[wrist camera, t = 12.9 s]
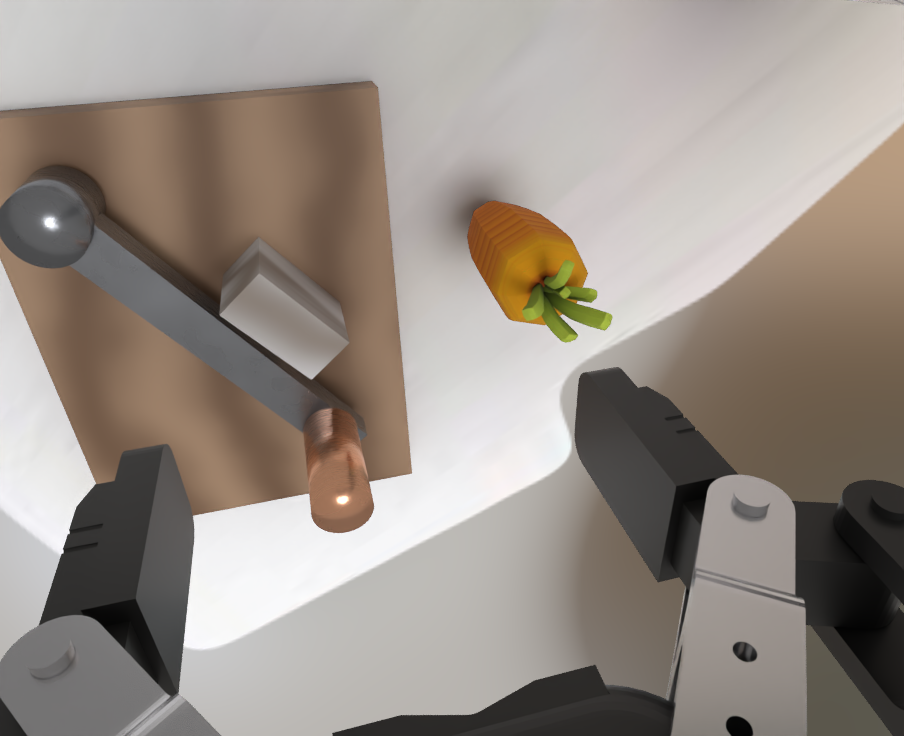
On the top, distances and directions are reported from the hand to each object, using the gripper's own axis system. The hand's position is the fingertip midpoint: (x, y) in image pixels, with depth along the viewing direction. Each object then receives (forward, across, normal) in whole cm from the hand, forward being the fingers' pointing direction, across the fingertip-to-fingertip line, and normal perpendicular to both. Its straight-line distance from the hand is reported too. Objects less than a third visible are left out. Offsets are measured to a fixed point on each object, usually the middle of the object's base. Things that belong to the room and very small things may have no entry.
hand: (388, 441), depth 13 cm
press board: (+28, +6, +11) cm, 31 cm away
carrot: (+28, -10, +6) cm, 31 cm away
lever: (+26, +7, +9) cm, 28 cm away
